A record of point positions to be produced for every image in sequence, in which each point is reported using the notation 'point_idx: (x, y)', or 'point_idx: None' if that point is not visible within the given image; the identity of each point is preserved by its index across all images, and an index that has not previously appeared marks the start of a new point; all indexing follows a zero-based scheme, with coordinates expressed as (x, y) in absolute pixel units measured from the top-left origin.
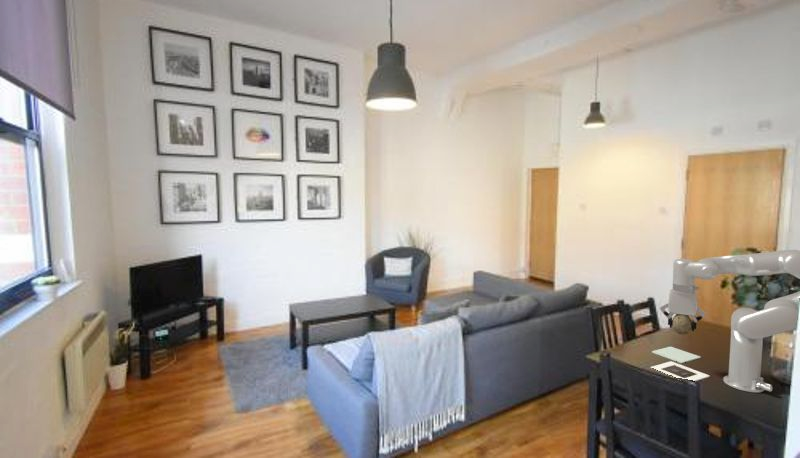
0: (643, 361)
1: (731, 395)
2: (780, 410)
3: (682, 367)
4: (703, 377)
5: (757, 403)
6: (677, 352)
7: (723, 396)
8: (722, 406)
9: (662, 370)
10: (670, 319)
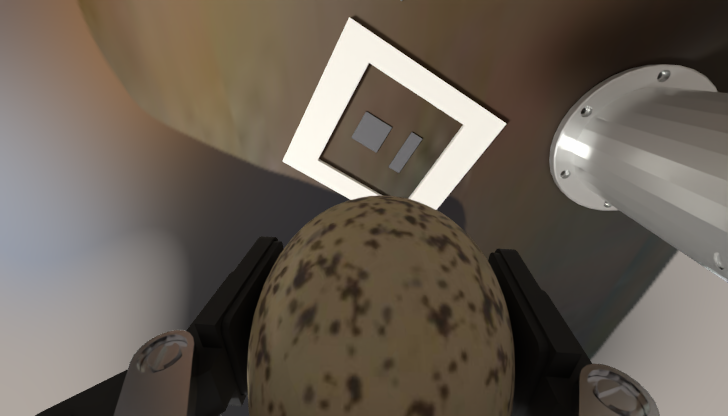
0: (241, 94)
1: (533, 256)
2: (646, 288)
3: (401, 83)
4: (474, 160)
5: (595, 274)
6: None
7: None
8: None
9: (326, 174)
10: (233, 399)
